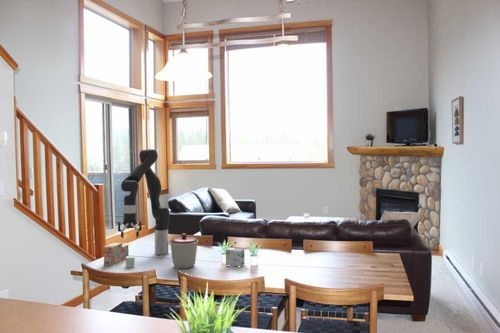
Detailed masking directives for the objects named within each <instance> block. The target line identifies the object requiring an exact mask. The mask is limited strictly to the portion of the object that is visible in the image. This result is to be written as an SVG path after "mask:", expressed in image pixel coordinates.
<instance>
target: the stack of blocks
mask: <svg viewBox="0 0 500 333" xmlns="http://www.w3.org/2000/svg"><path fill="white" fill-rule="evenodd" d="M129 251H130V250H129V244H125V243H124V244H123V243H122V242H112V243H110V244H107V245H105V246H103V266H104V265H107V267H114V266H115V265H117V264H120V263H121V262H123V261H126V256H130V255H129ZM113 265H114V266H113Z"/></svg>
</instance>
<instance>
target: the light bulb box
mask: <svg viewBox="0 0 500 333" xmlns="http://www.w3.org/2000/svg"><path fill="white" fill-rule="evenodd" d="M244 264H246V263H245V248H241V247H228V248H226V249H225V266H226V265H230V266H229V267H231V266H240V267H239V268H242V267H244V266H245V265H244ZM243 265H244V266H243ZM241 266H242V267H241Z"/></svg>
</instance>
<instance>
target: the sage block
mask: <svg viewBox="0 0 500 333" xmlns="http://www.w3.org/2000/svg"><path fill="white" fill-rule="evenodd" d="M135 260H136V258H135V255H129V256H126V259H125V268H126V267H129V268H135V266H134V265H135V264H136V263H135Z"/></svg>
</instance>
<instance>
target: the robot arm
mask: <svg viewBox="0 0 500 333" xmlns="http://www.w3.org/2000/svg"><path fill="white" fill-rule="evenodd" d="M158 156H159V155H158V152H157V150H156V149H154V148H150V149H149V148H148V149H142V150H140V152H139V161H140V164H138V165H137V166H136V167H135V168H134V169H133V170H132V171H131V174H129V175H128V176H127V177H125V179H122V182H121V184H120V189H121V190H122V192H130V193H129V194H128V195H125V196H124V197H123V211H122V212H123V221H121V220H120V221H118V223H117V232H120V237H121V239H124V231H125V230H126V229H134V230H135V231H136V232H135V235H136V238H138V237H139V234H140V231H142V230H143V229H142V220H139V221H138V220H137V206H136V205H137V204H136V202H137V201H136V200H137V199H136V198H137V195H138V191H139V190H138V189H139V182H141V180H142V178H143V176H144V177H145V181H146V187H147V191H148V195H149V199H150V206H151V213H152V214H151V215H152V217H153V218H154V219H155V220H158V221H159V222H158V224H156V225H154V254H155V255H159V256H164V255H169V225H170V210H169V208H168V207H166V206H161V202H160V197H161V193H162V184H161V180H160V178H159V176H158V175H157V174H156V172H154V171H153V169H152V166H153V165H154V164H155V163H156V161H157V160H158ZM137 224H138V226H139V228H138V226H136V225H137ZM122 225H123V227H122V228H121V226H122Z"/></svg>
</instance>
